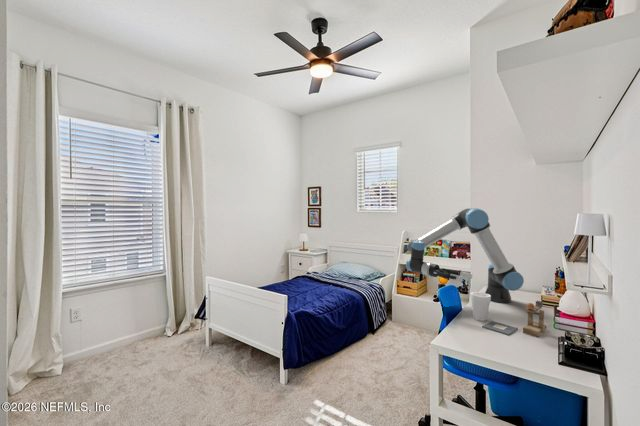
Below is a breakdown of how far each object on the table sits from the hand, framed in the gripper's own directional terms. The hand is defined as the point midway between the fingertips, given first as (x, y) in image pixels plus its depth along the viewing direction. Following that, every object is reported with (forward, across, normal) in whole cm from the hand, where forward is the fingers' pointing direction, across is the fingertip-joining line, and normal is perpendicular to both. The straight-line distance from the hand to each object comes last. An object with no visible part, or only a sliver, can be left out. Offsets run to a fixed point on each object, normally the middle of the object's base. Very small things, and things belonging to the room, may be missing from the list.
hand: (467, 277), depth 171 cm
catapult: (+32, -1, -19) cm, 38 cm away
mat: (+20, +7, -20) cm, 29 cm away
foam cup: (+8, 0, -20) cm, 22 cm away
